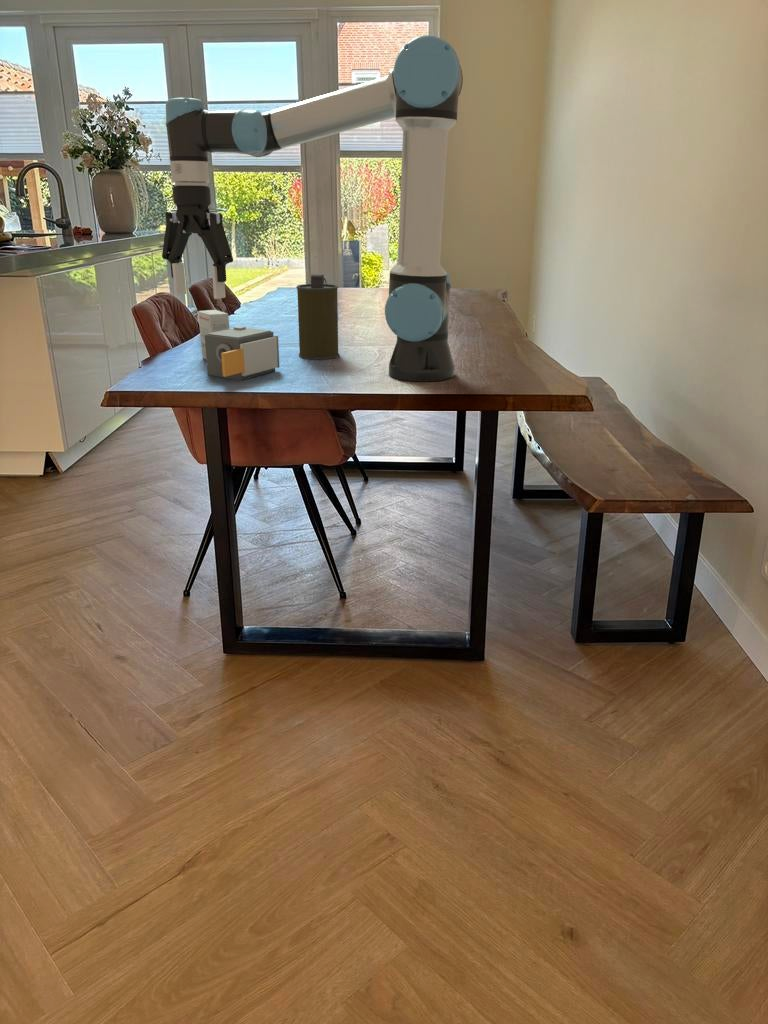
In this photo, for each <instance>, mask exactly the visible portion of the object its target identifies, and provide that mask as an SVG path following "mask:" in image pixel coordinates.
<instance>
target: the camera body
mask: <svg viewBox="0 0 768 1024" xmlns="http://www.w3.org/2000/svg"><path fill="white" fill-rule="evenodd" d="M274 336H275V335H274V331H272V330H269V329H268V330H267V329H260V328H253V327H252V328H251V327H246V326H240V325H238V326H234V327H233V328H229V329H228V330H223V331H218V332H213V333H207V335H205V347H206V359H207V360H206V369H207V370H206V371H207V375H208V376H214V377H221V378H226V379H230V380H231V379H232V380H239V381H243V380H246V379H250V378H253V377H258V376H262V375H263V374H264V375H265V374H268V373H272V372H275V371H276V368H273V369H269V370H266V371H262V372H258V373H255V374H251V375H247V376H242V373H238V374H234V375H230V376H227V377H224V376H223V371H222V357H221V353H223V352H228V351H232V350H237V349H240V344H242V343H247V342H251V341H256V340H260V339H265V338H269V337H274Z"/></svg>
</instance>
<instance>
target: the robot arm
mask: <svg viewBox="0 0 768 1024" xmlns="http://www.w3.org/2000/svg"><path fill="white" fill-rule="evenodd" d="M463 79H464V75H463V71H462V67H461V64H460V60H459V57H458V54H457V52H456V50H455V49H454V48H453V46H452V45H451V44H450V43H448V42H447V41H446V40H445V39H442V38H440V37H439V36H436V35H435V36H434V35H420V36H418V37H414V38H413V39H411V40H410V41H408V42H407V43H405V44H404V46H403V47H402V48H401V49H400V51H399V53H398V54H397V56H396V59H395V62H394V67H393V68H391V69H390V70H389V71H388V74H387V75H386V76H383V77H380V78H376V79H374V80H373V79H372V80H370V81H366V82H364V83H360V84H357V85H354V86H350V87H345V88H342V89H339V90H336V91H332V92H329V93H326V94H323V95H322V94H321V95H319V96H315V97H312V98H309V99H305V100H303V101H298V102H296V103H292V104H289V105H286V106H282V107H279V108H275V109H272V110H269V111H265V112H261V111H259V110H252V109H244V108H243V109H233V110H232V109H229V110H207V109H206V108H205V104H204V102H203V100H201V99H199V98H191V97H188V98H187V97H175V98H174V97H173V98H169V99H167V101H166V102H165V121H166V122H165V127H166V133H167V143H168V144H167V145H168V153H169V166H170V175H171V176H170V177H171V182H172V183H174V185H172V187H171V189H172V201H173V204H174V205H175V206H176V211H166V212H165V215H164V217H165V223H166V224H165V231H164V237H163V244H162V245H163V246H162V251H161V253H162V254H161V257H162V259H163V260H166V261H168V262H169V264H170V275H171V279H173V289H174V296H180V295H187V287H186V286H187V285H186V273H185V272H186V270H185V263H184V261H183V260H182V258H183V255H184V252H185V249H186V246H187V243H188V241H189V238H190V236H192V234H197V236H198V237H200V238H201V240H202V242H203V244H204V246H205V248H206V250H207V251H208V253H209V256H210V257H211V260H212V262H213V264H212V265H211V274H212V275H211V276H212V286H213V289H212V290H213V299H215V300H217V299H225V298H226V285H225V284H226V283H225V282H227V272H226V271H227V269H226V267H227V265H228V264H231V263H233V262H234V258H233V255H232V252H231V251H232V250H231V247H230V244H229V242H228V238H227V235H226V231H225V228H224V225H223V214H222V213H221V212H210V207H209V206H210V205H211V204H212V198H211V187H210V186H208V184H210V173H209V164H208V163H209V159H208V153H224V154H225V153H233V154H235V153H236V154H243V155H248V156H252V157H255V158H261V157H262V158H263V157H266V156H269V155H271V153H273V152H276V151H277V152H278V151H280V150H282V149H285V148H289V147H292V146H296V145H300V144H304V143H308V142H311V141H314V140H319V139H322V138H325V137H329V136H333V135H336V134H340V133H343V132H347V131H350V130H355V129H358V128H362V127H365V126H368V125H373V124H376V123H380V122H385V121H388V120H390V119H395V122H396V123H397V124H398V126H399V127H400V128H401V130H402V143H401V144H402V145H401V146H402V149H401V170H400V171H401V172H400V173H401V175H400V192H399V193H400V194H399V195H400V198H399V217H398V218H399V219H398V242H397V243H398V245H397V246H398V247H397V262H396V264H395V265H394V266H393V267H392V268H391V269H390V270H389V282H388V297H387V299H386V302H385V305H384V316H385V321H386V324H387V326H388V328H389V329H390V331H391V332H392V333H393V334H394V335H395V336H396V342H395V345H394V348H393V351H392V354H391V357H390V361H389V364H388V375H389V376H390V378H391V377H392V378H394V379H397V380H402V381H409V382H410V381H411V382H412V381H413V382H436V381H437V382H439V381H444V380H448V379H451V378H453V377H454V376H455V364H454V359H453V356H452V353H451V349H450V345H449V323H450V322H449V320H450V319H449V317H450V295H451V294H450V293H451V292H450V291H451V287H452V284H451V276H450V273H448V272H447V271H446V270H445V268H443V266H442V264H441V252H442V250H441V249H442V234H443V222H444V221H443V219H444V203H445V202H444V201H445V188H446V187H445V186H446V172H447V169H446V168H447V156H448V155H447V154H448V141H449V140H448V138H449V132H450V130H451V129H452V128H453V127H454V126H455V125H456V124H457V123H458V122H457V121H458V109H459V108H458V107H459V97H460V95H461V92H462V89H463V81H464V80H463Z"/></svg>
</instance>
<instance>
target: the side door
mask: <svg viewBox="0 0 768 1024" xmlns="http://www.w3.org/2000/svg"><path fill="white" fill-rule="evenodd" d="M279 347H280V346H279V335H274V337H269V338H265V339H260V340H256V341H251V342H247V343H242V344H240V349H237V350H232V351H228V352H223V353H221V357H222V371H223V376H224V377H223V378H225V377H227V376H230V375H234V374H238V373H242V376H247V375H251V374H255V373H258V372H262V371H266V370H269V369H273V368H275V369H277V368H280V349H279Z"/></svg>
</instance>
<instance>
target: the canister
mask: <svg viewBox="0 0 768 1024" xmlns="http://www.w3.org/2000/svg"><path fill="white" fill-rule="evenodd" d="M338 289H339V286H338V285H337V284H331V283H328V282H327V280H326V278H325V277H324V274H311V276H310V283H306V284H299V285H296V290H297V313H298V314H297V319H298V344H299V353H298V357H300V358H301V359H303V360H304V359H305V360H314V361H315V360H318V361H319V360H321V361H322V360H330V359H331V360H332V359H337V358H338V357H339V356H340V353H339V322H338V321H339V320H338V319H339V318H338V317H339V314H338V313H339V311H338V307H339V306H338V304H339V303H338Z"/></svg>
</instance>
